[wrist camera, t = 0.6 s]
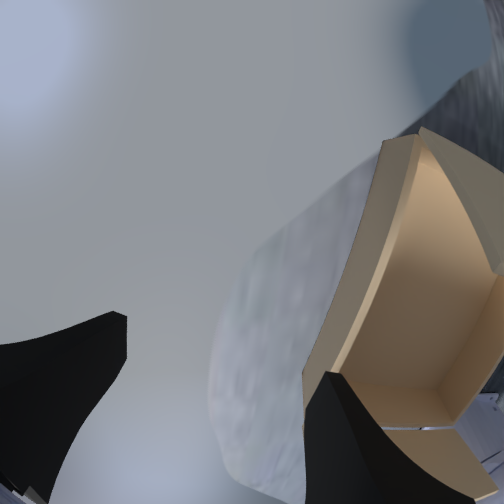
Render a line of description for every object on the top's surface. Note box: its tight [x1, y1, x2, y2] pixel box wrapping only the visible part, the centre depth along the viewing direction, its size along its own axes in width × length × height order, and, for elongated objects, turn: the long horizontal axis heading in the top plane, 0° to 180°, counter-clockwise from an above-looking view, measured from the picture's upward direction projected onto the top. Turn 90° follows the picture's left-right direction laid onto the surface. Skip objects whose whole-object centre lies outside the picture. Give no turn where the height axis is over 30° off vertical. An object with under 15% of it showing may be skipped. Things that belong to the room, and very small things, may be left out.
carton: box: [302, 134, 504, 427], centre depth 16 cm, size 14×18×5 cm
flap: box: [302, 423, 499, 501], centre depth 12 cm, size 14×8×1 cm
